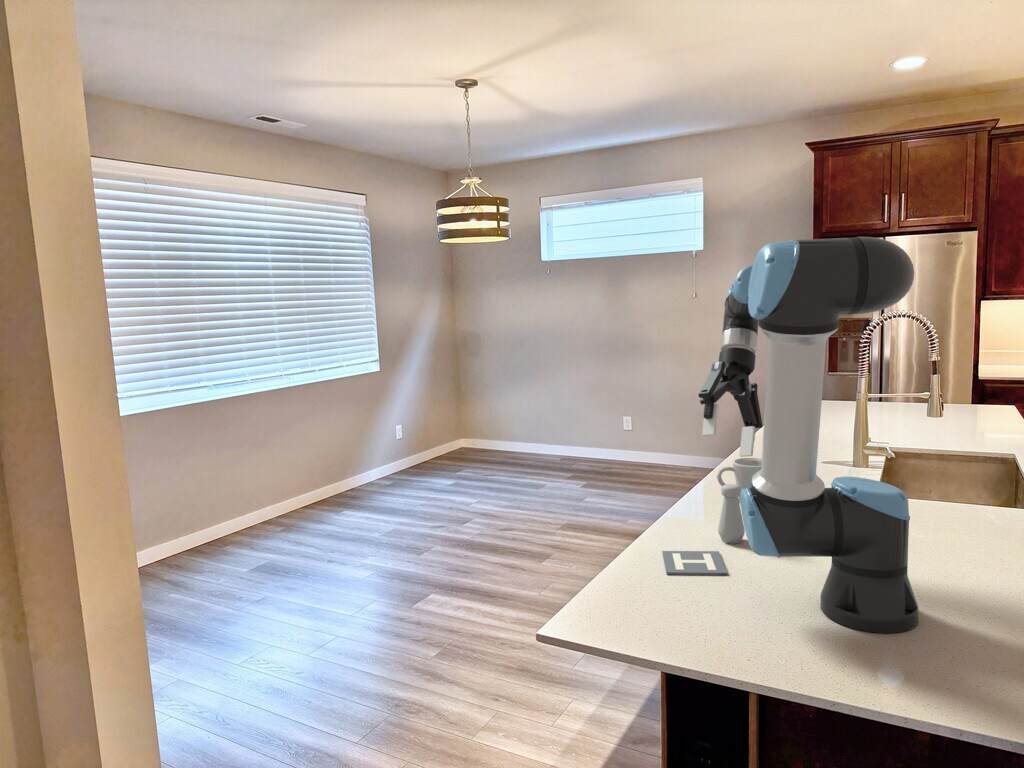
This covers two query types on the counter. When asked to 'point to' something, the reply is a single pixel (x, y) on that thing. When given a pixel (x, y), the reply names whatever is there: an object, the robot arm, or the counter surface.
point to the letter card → (694, 563)
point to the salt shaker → (731, 515)
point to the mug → (742, 471)
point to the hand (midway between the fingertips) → (727, 446)
